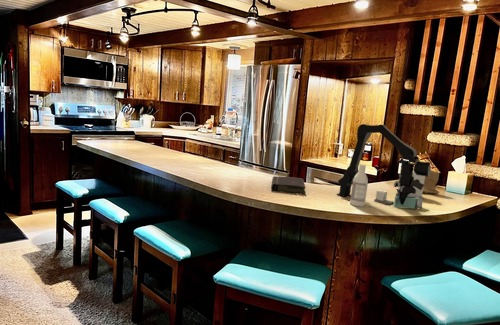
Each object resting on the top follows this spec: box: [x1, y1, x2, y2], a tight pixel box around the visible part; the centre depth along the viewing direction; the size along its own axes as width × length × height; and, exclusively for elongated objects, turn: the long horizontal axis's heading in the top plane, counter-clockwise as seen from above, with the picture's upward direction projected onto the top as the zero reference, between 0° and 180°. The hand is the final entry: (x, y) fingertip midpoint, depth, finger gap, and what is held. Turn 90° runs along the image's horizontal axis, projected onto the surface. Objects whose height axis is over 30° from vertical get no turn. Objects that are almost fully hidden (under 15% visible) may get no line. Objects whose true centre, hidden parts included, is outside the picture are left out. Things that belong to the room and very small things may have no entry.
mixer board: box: [373, 198, 394, 206], centre depth 198 cm, size 6×8×1 cm
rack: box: [395, 192, 424, 210], centre depth 195 cm, size 9×12×6 cm
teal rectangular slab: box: [393, 195, 416, 210], centre depth 189 cm, size 10×2×5 cm, turn 85°
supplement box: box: [410, 170, 425, 197], centre depth 224 cm, size 9×9×15 cm
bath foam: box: [349, 163, 369, 208], centre depth 184 cm, size 7×7×20 cm
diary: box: [270, 175, 306, 195], centre depth 211 cm, size 19×25×5 cm
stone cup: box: [422, 169, 440, 194], centre depth 242 cm, size 15×12×15 cm
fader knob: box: [375, 189, 388, 201], centre depth 199 cm, size 4×4×5 cm
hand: (402, 204), depth 187 cm, fingers closed
